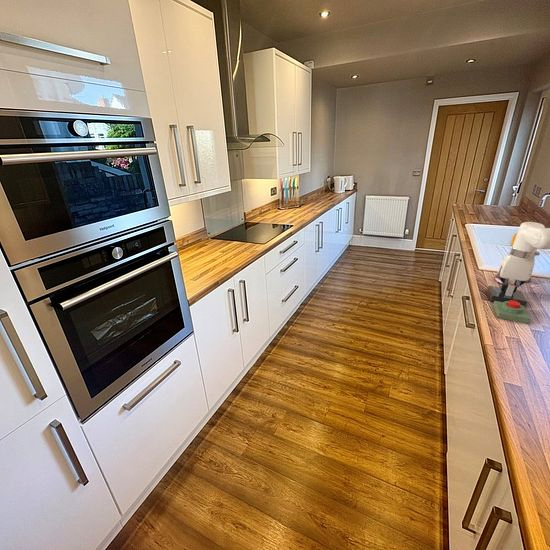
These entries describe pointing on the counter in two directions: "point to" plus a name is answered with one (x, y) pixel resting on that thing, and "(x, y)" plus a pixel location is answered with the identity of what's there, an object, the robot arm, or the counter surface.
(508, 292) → the tap handle
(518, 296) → the plate
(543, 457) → the counter surface
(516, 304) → the button
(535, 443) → the counter surface
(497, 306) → the button box
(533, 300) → the counter surface
